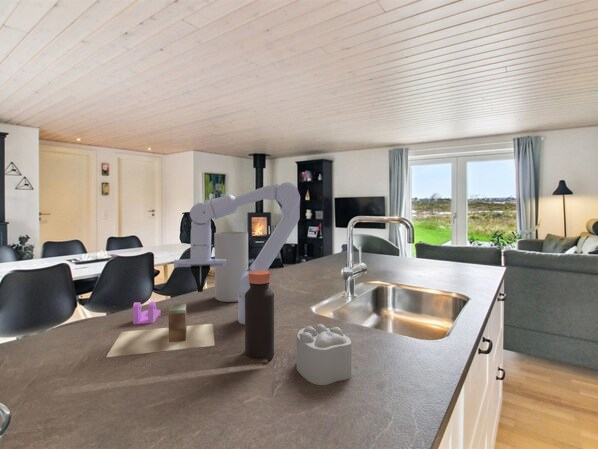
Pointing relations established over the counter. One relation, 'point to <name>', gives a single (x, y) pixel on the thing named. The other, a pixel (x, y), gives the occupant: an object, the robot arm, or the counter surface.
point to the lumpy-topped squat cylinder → (323, 354)
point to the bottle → (259, 317)
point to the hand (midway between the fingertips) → (200, 291)
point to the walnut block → (177, 322)
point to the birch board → (161, 340)
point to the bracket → (145, 313)
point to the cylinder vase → (230, 264)
